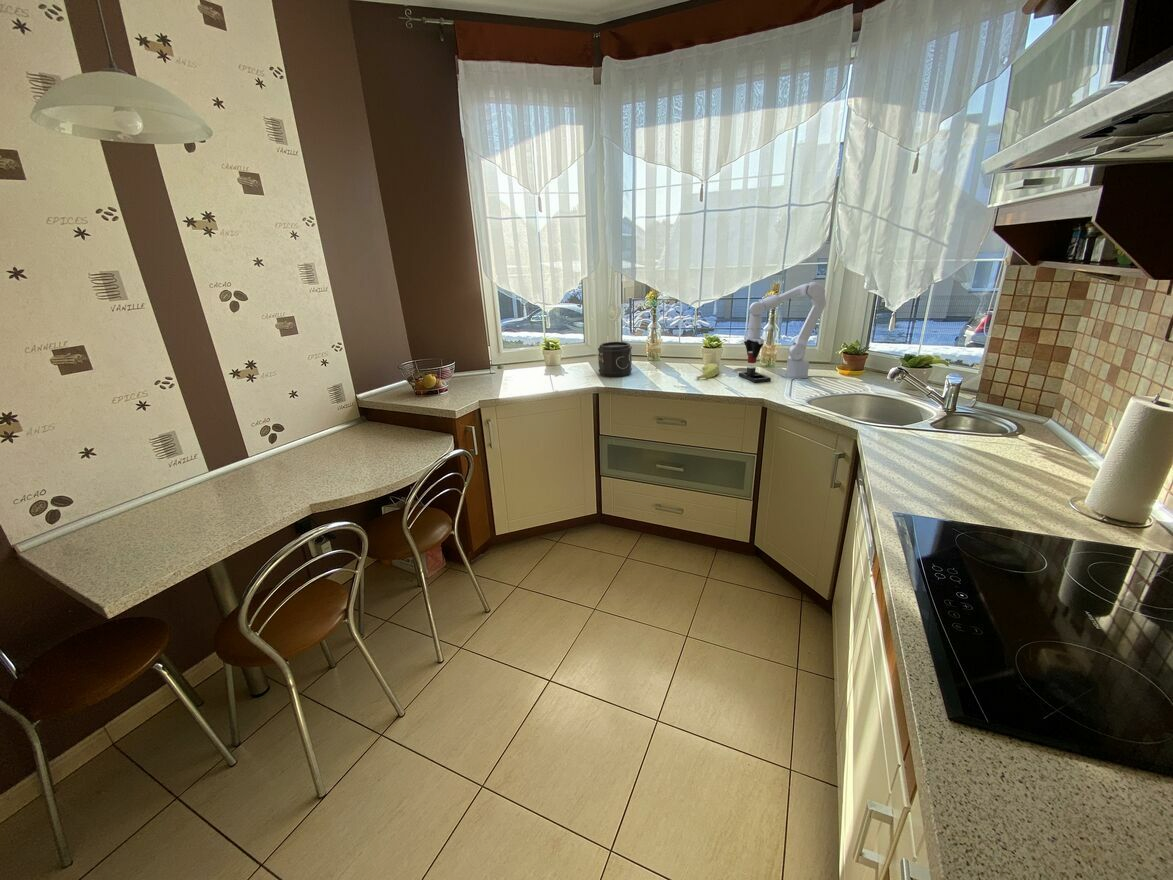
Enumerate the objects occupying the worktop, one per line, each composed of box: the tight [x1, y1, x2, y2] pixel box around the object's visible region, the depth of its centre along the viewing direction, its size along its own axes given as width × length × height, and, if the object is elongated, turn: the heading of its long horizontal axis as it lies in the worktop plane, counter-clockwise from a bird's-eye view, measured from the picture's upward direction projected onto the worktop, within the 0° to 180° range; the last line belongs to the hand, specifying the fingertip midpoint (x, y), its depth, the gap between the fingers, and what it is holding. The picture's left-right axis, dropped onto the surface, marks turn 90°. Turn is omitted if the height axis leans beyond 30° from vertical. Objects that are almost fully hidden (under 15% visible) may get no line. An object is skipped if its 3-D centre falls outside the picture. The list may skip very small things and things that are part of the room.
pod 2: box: [746, 365, 757, 375], centre depth 231 cm, size 4×4×5 cm
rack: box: [738, 371, 772, 384], centre depth 229 cm, size 15×8×2 cm, turn 12°
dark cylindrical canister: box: [597, 341, 633, 378], centre depth 252 cm, size 18×18×16 cm
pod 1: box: [747, 351, 758, 364], centre depth 232 cm, size 4×4×5 cm
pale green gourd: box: [696, 362, 720, 381], centre depth 241 cm, size 14×6×20 cm
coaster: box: [734, 367, 747, 373], centre depth 247 cm, size 8×8×1 cm
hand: (752, 356), depth 232 cm, fingers closed on pod 1, 4 cm apart
